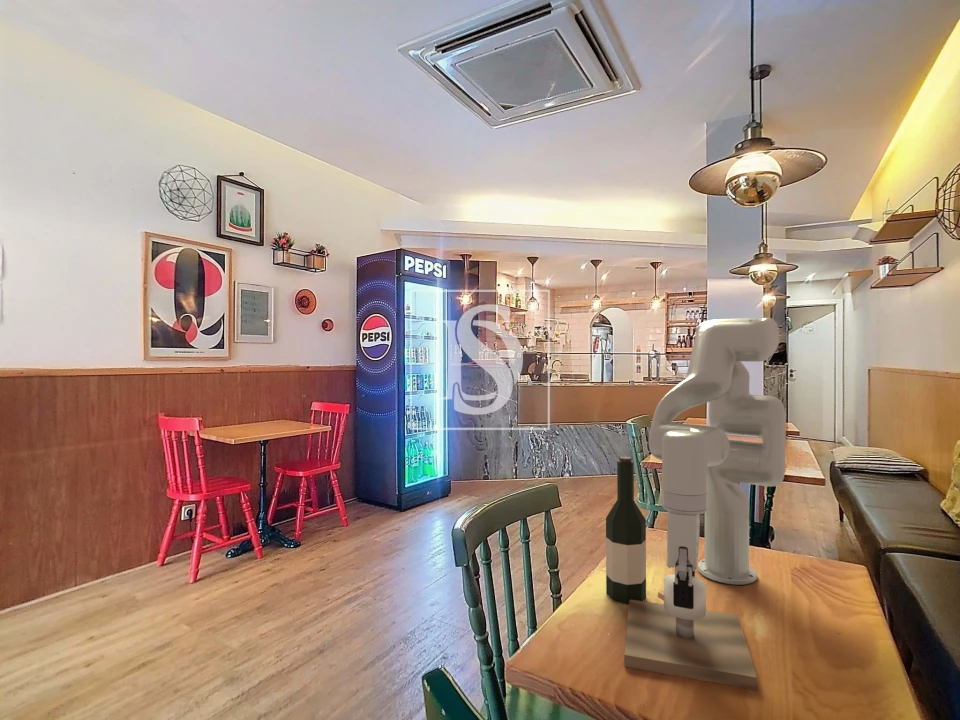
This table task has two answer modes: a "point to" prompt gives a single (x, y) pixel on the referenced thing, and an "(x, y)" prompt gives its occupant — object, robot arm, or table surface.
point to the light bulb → (680, 612)
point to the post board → (688, 645)
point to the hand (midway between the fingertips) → (684, 594)
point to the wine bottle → (625, 541)
